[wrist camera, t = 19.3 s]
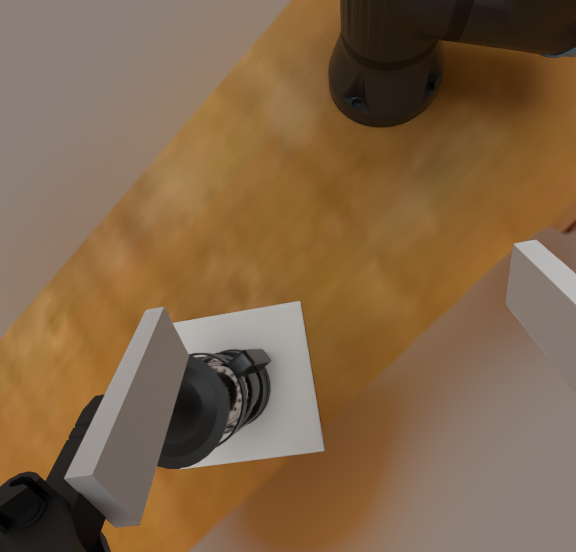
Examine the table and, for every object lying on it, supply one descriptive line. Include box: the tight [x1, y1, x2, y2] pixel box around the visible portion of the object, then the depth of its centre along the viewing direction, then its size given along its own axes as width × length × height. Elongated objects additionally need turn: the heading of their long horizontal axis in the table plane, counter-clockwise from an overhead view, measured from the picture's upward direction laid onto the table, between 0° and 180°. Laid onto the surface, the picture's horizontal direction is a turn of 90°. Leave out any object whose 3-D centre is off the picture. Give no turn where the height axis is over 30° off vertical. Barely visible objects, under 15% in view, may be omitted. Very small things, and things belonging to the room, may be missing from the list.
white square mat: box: [173, 301, 325, 469], centre depth 48 cm, size 18×18×1 cm
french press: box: [157, 349, 271, 469], centre depth 36 cm, size 12×9×23 cm
